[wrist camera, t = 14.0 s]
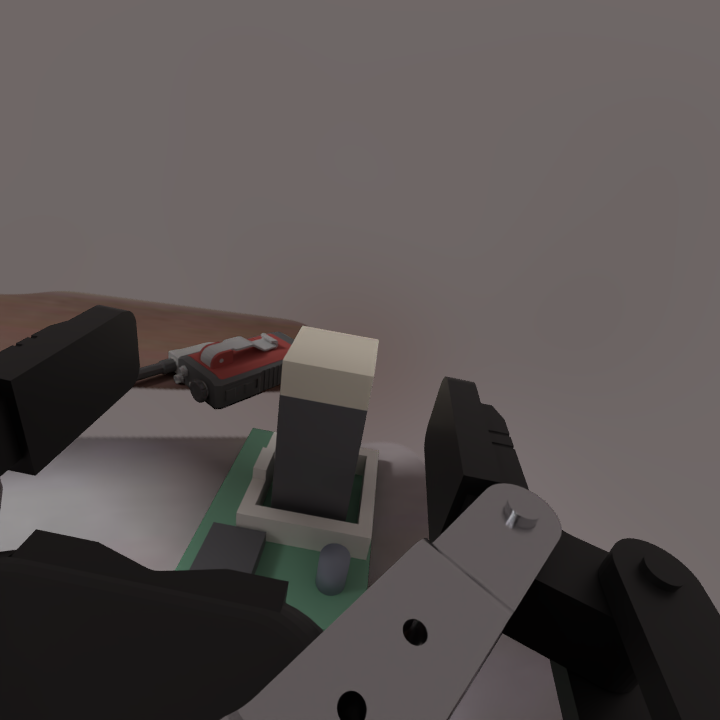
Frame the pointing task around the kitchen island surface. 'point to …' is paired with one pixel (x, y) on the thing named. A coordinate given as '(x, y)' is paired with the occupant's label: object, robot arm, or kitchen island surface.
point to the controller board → (288, 534)
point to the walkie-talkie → (226, 368)
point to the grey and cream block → (321, 421)
